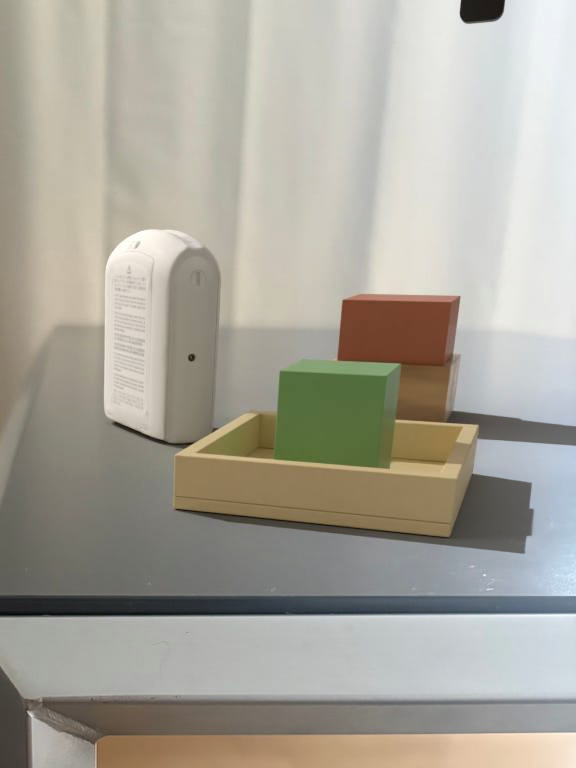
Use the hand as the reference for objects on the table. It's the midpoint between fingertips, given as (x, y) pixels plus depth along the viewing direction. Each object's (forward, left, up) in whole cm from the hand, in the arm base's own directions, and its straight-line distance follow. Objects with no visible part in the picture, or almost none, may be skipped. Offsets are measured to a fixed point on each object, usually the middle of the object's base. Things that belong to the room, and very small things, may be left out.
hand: (475, 8), depth 50 cm
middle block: (-14, -4, -19) cm, 23 cm away
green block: (+10, -3, -22) cm, 24 cm away
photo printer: (-2, -17, -23) cm, 29 cm away
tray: (+10, -3, -23) cm, 25 cm away
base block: (-14, -4, -23) cm, 27 cm away
